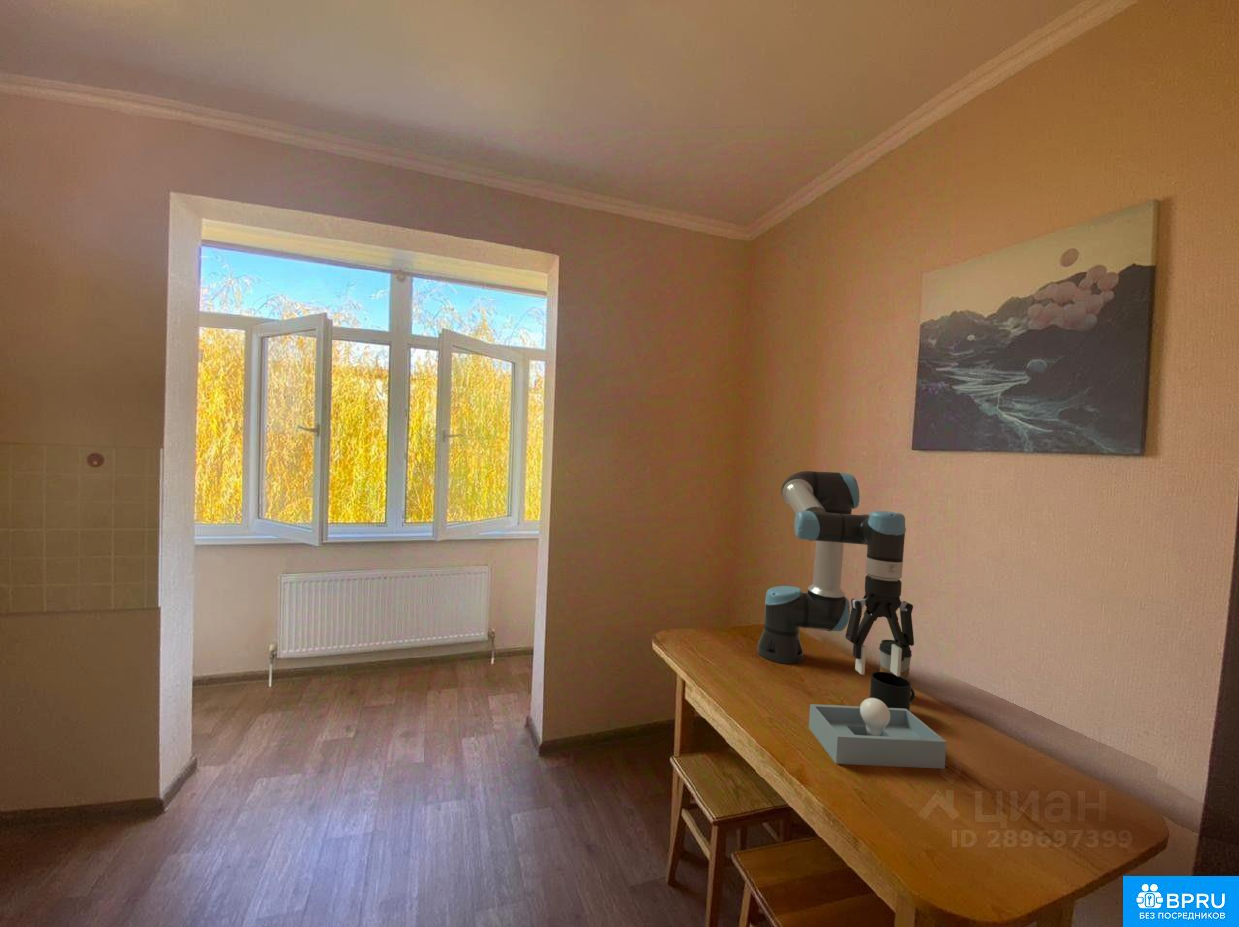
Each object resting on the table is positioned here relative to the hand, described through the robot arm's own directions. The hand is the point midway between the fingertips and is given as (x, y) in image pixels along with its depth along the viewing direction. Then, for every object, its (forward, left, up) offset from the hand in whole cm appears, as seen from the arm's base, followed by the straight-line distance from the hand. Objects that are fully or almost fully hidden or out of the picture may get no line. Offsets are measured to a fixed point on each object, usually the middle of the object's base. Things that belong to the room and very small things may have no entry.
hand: (877, 672), depth 111 cm
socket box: (0, 0, -17) cm, 17 cm away
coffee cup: (-27, +21, -18) cm, 38 cm away
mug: (-17, +15, -18) cm, 29 cm away
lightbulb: (0, 0, -17) cm, 17 cm away
